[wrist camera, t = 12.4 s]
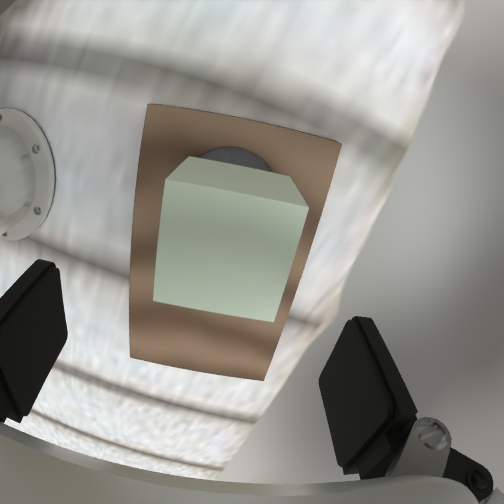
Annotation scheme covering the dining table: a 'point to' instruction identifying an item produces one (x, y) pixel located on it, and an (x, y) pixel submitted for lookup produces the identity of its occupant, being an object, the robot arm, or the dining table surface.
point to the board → (147, 230)
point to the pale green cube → (227, 238)
